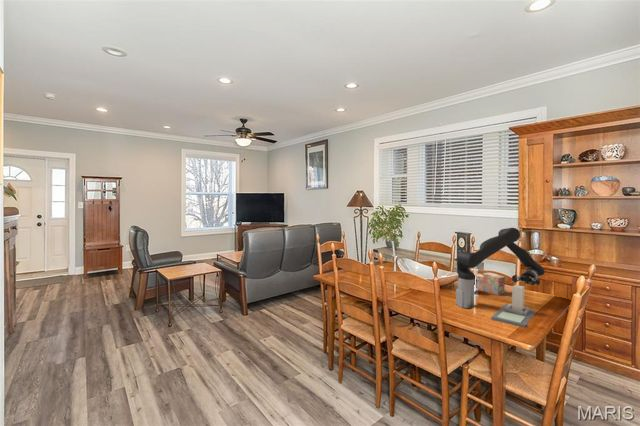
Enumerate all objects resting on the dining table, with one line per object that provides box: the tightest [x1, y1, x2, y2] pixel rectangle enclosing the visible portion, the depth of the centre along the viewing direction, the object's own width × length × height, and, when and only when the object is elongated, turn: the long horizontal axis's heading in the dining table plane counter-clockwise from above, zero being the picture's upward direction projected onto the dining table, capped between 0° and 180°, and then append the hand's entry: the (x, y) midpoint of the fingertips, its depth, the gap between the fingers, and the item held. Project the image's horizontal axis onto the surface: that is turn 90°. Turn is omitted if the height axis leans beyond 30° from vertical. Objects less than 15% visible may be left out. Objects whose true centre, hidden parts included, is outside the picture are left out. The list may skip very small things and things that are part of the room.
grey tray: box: [490, 303, 537, 329], centre depth 178 cm, size 28×16×3 cm, turn 136°
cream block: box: [511, 284, 526, 311], centre depth 182 cm, size 5×5×14 cm
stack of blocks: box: [476, 272, 506, 296], centre depth 224 cm, size 21×6×12 cm, turn 23°
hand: (523, 282), depth 189 cm, fingers open, 8 cm apart
